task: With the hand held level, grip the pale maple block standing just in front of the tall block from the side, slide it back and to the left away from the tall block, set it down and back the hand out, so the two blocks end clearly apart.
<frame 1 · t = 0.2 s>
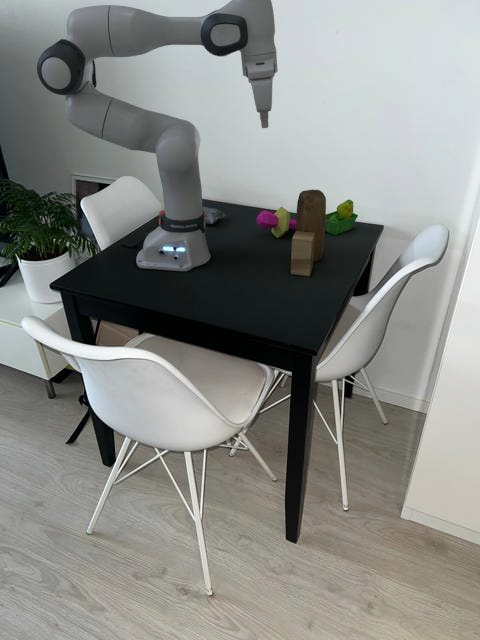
hand: (264, 123, 135), 39 cm above the table, tool pointing down, fingers open, 8 cm apart
packaged food: (205, 223, 180), on the table
toy: (281, 235, 170), on the table
maple block: (301, 271, 147), on the table
block: (307, 256, 156), on the table
fruit basket: (339, 230, 173), on the table
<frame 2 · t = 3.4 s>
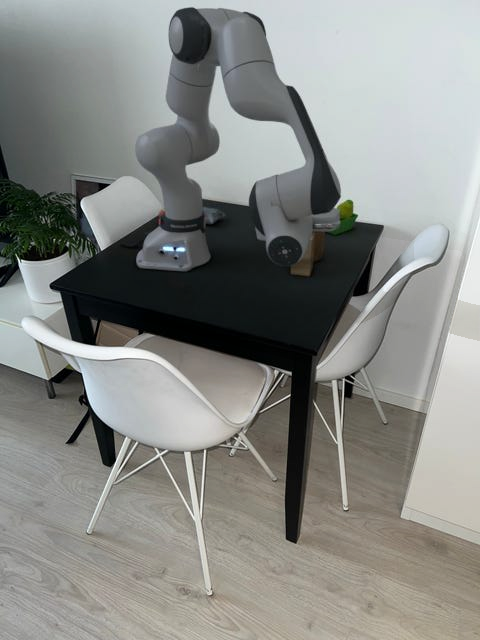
hand: (299, 209, 127), 22 cm above the table, tool horizontal, fingers open, 8 cm apart
nothing on the table moved.
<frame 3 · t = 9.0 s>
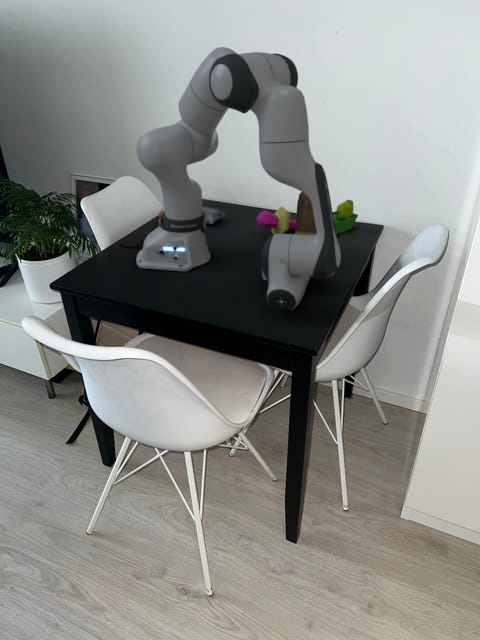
hand: (303, 250, 145), 6 cm above the table, tool horizontal, fingers closed on maple block, 5 cm apart
maple block: (301, 271, 147), on the table, touching gripper
everything else where it was.
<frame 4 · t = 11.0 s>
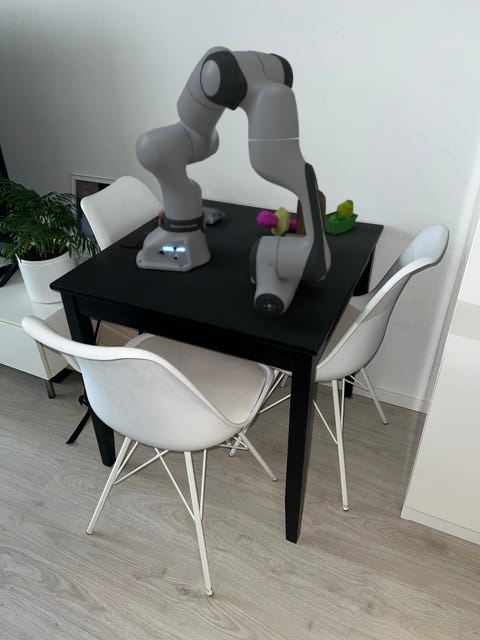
hand: (293, 253, 141), 7 cm above the table, tool horizontal, fingers closed on maple block, 5 cm apart
maple block: (292, 274, 144), point 1 cm above the table, touching gripper
everything else where it was.
when the fingers open (6 cm above the table, at t = 13.1 s): maple block stays where it is, on the table.
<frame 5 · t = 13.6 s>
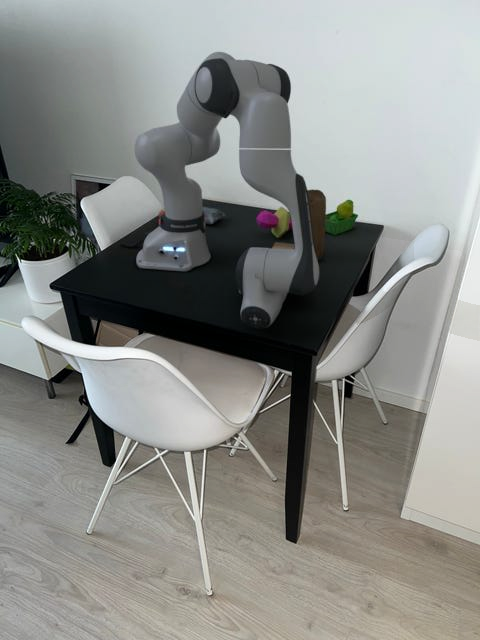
hand: (282, 262, 138), 6 cm above the table, tool horizontal, fingers open, 8 cm apart
maple block: (281, 283, 141), on the table
everything else where it was.
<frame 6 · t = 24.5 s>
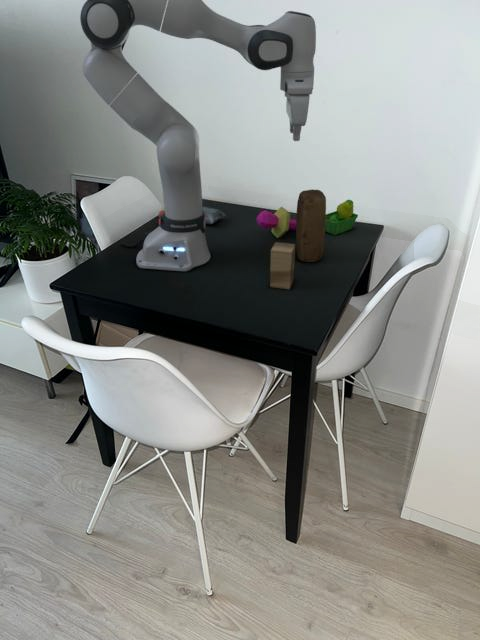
hand: (294, 136, 142), 34 cm above the table, tool pointing down, fingers open, 8 cm apart
nothing on the table moved.
at the end: maple block inside the target area (0.2 cm from its centre), on the table; maple block tilted 0°; block moved 0.2 cm from its start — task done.
